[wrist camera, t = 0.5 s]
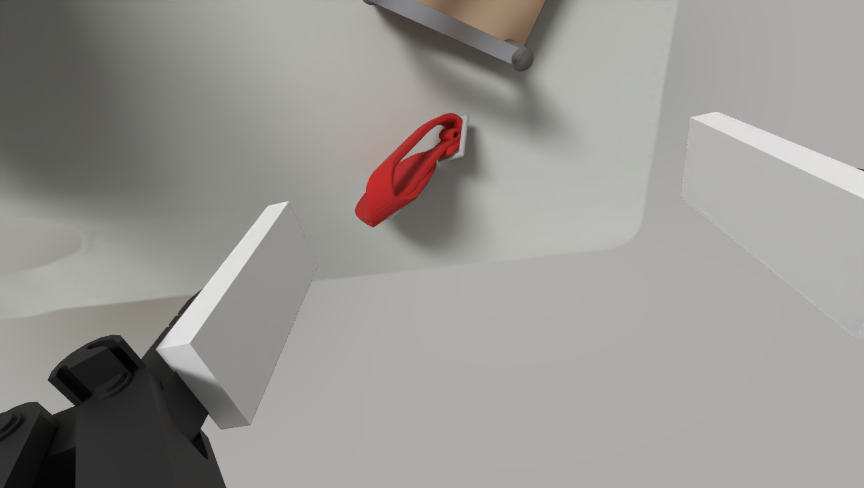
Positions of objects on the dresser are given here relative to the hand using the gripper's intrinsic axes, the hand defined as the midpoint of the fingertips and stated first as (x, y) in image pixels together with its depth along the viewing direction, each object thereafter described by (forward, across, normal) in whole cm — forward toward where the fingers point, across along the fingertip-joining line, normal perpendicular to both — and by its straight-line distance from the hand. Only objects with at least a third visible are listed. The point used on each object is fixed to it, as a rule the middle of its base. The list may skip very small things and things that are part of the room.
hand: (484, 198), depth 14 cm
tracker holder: (+24, -5, -5) cm, 25 cm away
